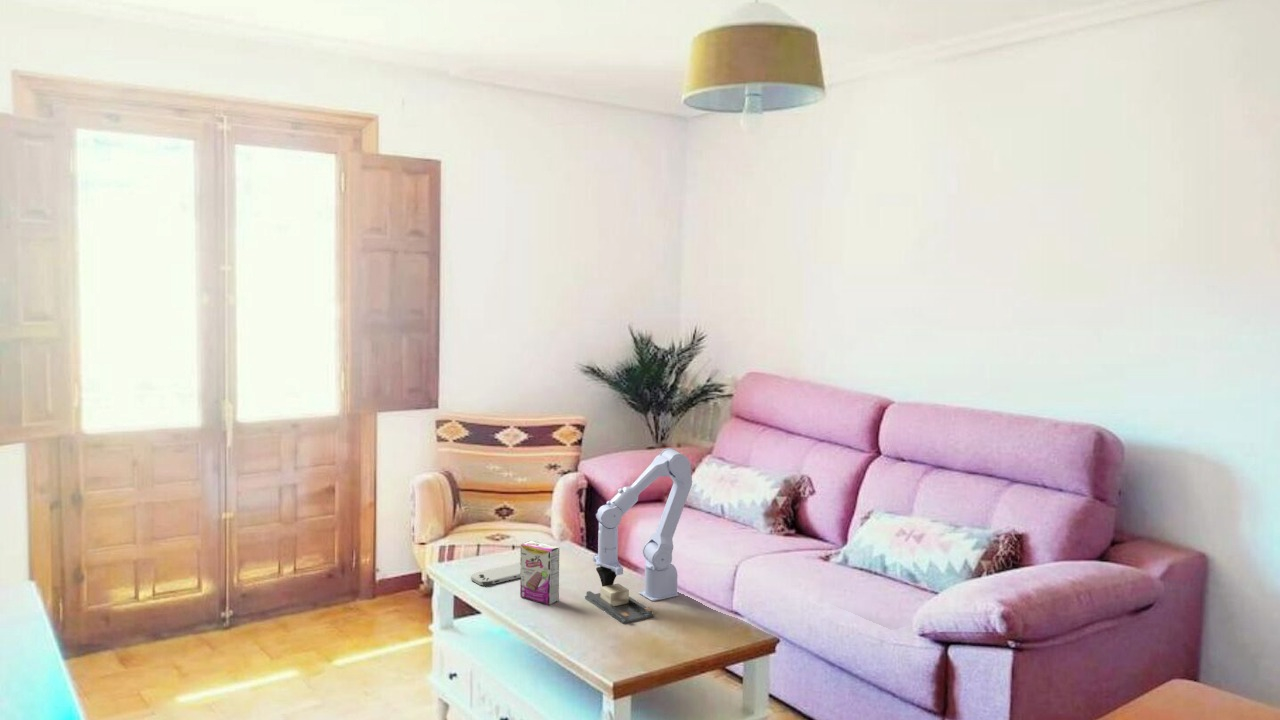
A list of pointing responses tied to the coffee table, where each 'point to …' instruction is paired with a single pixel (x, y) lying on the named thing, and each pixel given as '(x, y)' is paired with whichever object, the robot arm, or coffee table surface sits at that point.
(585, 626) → the coffee table surface
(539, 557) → the candy bar box
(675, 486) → the robot arm
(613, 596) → the block
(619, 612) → the chute
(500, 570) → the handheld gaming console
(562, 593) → the coffee table surface
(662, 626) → the coffee table surface
